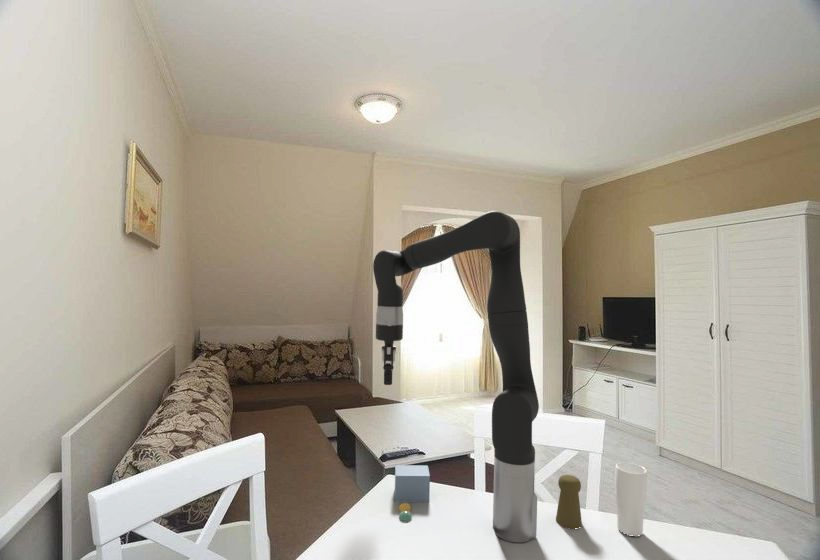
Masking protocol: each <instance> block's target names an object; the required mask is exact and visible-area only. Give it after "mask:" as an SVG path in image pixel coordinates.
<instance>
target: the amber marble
mask: <svg viewBox="0 0 820 560" xmlns="http://www.w3.org/2000/svg"><path fill="white" fill-rule="evenodd" d="M398 511H399V512H400V513H401V512H403V511H408V512H410V513H411V512H412V507H411V505H410V504H409V503H408V502H403V503H401V504H399V507H398Z"/></svg>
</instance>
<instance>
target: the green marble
mask: <svg viewBox="0 0 820 560" xmlns="http://www.w3.org/2000/svg"><path fill="white" fill-rule="evenodd" d="M412 518H413V517H412V514H411V511H410V512H408V511H403V512H400V513H399V516H398V519H399V521H401V522H410V521H411V520H412Z"/></svg>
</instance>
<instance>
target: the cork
mask: <svg viewBox="0 0 820 560" xmlns="http://www.w3.org/2000/svg"><path fill="white" fill-rule="evenodd" d="M557 485H558V487H559V489H560V490H559V491H560V492H559V496H558V497H559V498H558V504H557V510H556V516H555V521H556V524H557V525H559V526H560V527H563V528H565V529H568V528H570V529H569V530H576V529H575V528H579V527H581V526H582V527H583V521H582V513H581V504H580V502H581V501H580V495H579V493H580V491H581V489H582V483H581V481H580V479H579V478H578V477H576V476H574V475H573V474H563V475H561V476H560V477H559V478H558V482H557ZM582 527H581V528H582ZM579 529H580V528H579Z"/></svg>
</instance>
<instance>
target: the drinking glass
mask: <svg viewBox="0 0 820 560" xmlns="http://www.w3.org/2000/svg"><path fill="white" fill-rule="evenodd" d="M614 490H615V501H616V502H615V503H616V518H617V521H616V522H617V525H616V526H617V530H618V531H619V530H620V531H619V532H620V533H622V532H623V533H625V534H628V535H633V536H638V535H641V534H642V535H643V531H644V517H645V510H646V509H645V508H646V500H647V499H646V498H647V492H648V470H647V469H646V468H645V467H643V466H642V465H639V464H636V463H634V462H633V463H632V462H624V461H623V462H622V461H621V462H617V463H616V464H615V469H614ZM623 533H622V534H623ZM625 534H624V535H625ZM628 535H627V536H628ZM642 535H641V536H642Z"/></svg>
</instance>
